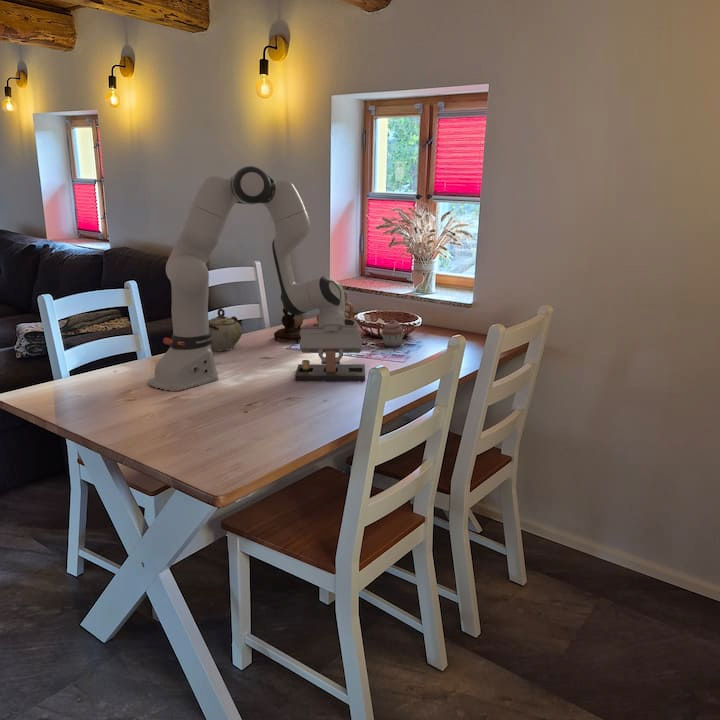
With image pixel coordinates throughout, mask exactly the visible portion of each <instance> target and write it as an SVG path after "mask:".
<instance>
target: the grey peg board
mask: <svg viewBox="0 0 720 720" xmlns="http://www.w3.org/2000/svg"><path fill="white" fill-rule="evenodd" d="M295 381H327V382H328V383H329V382H331V383H334V382H335V383H336V382H337V383H339V382H340V383H341V382H342V383H343V382H345V383H346V382H349V383H350V382H351V383H354V382H355V383H359V382H358V381H361V382H362V383H363V381H365V382H366V365H365V364H364V363H362V364H359V363H358V364H357V363H356V364H353V363H352V364H348V363H347V364H346V363H345V364H343V363H342V364H341V363H340V364H336V372H326V364H322V363H321V364H315V363H313V364H310V360H309V359H304V360H302V361H301V364H297V368H296V371H295V374H294V382H295ZM361 382H360V383H361Z"/></svg>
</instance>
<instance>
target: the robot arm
mask: <svg viewBox="0 0 720 720" xmlns="http://www.w3.org/2000/svg"><path fill="white" fill-rule="evenodd" d="M235 204H242V205H248V206H251V205H257V204H262V205H263V206H264V207H265V208H267V211H268V213H269V214H270V217H271V218H270V219H271V220H272V223H273V225H274V233H275V235H274V239H273V241H272V242H271V243H272V244H271V245H272V246H271V249H272V250H271V251H272V254H273V261H274V265H275V269H276V274H277V278H278V281H279V286H280V293H281V294H280V296H281V295H282V300H281V302H282V306H283V308H285V310H287V311H288V314H290V315H291V314H293V315H295V316H298V315H301V314H303V315H304V314H305V313H308V312H311V311H315V310H317V309H318V310H319V313H320V314H319V313H318V314H319V320H318V321H317V323H318V324H317V325H318V326H317V325H316V326H315V325H314V326H313V325H312V326H309V325H306V326H304V327H301V328H302V329H301V330H300V337H301V340H299V341H300V342H299V349H300V351H301V352H302V353H303V354H316V353H317V354H318V357H319V358H320V360H321V361H320V362H321V364H326V356H324V354H326V351H335V354H336V353H337V354H338V356H336V357H335V364H341V359H343V356H344V354H360V353H361V352H362V350H363V341H362V335H361V331H360V329H359V324H358V321H357V320H354V319H351V318H350V319H348V318H345V316H344V311H345V310H346V306H345V295H344V292H345V291H344V288H343V285H342V284H341V283H340V282H338V281H337V280H333V279H331V278H329V277H327V276H324V275H322V276H318V277H315V278H312V279H310V280H307V281H303V282H299V283H297V282H296V281H295V277H294V272H293V266H292V263H291V256H292V253H293V251H294V250H295V249H296V248H297V247H298V246H300V244H302V243H303V242H304V241H305V239H307V237H308V236H309V233H310V230H311V220H310V217H309V214H308V212H307V210H306V209H307V208H306V207H305V204H304V202H303V200H302V197H301V196H300V194H299V191H298V190H297V188H296V187H295V185H294V184H293V182H292V181H289V180H287V179H279V180H276V181H275V180H274V179H273V178H271V177H270V176H269V174H267V173H266V172H265V171H263V170H262V169H261V168H259V167H256V166H250V165H249V166H244V167H242V168H239V170H237V171H236V172H235V173H234V174H233V175H232V176H231V177H230V178H229V179H228V178H223V177H221V176H216V175H213V176H208V177H207V178H205V179H204V180H203V183H202V184H201V185H200V188H199V189H198V191H197V192H196V194H195V196H194V199H193V202H192V204H191V206H190V210H189V212H188V215H187V217H186V220H185V222H184V225H183V228H182V230H181V232H180V235H179V236H178V238H177V240H176V242H175V244H174V246H173V248H172V250H171V252H170V254H169V257H168V259H167V261H166V263H165V274H166V276H167V278H168V280H169V281H170V286H171V307H170V308H171V310H170V311H171V321H172V331H173V333H172V335H171V338H170V337H164V338H163V340H162V342H163V344H164V345H169V348H168V350H167V351H166V352H165V353H164V354H163V355H162V357H161V358H160V360H158V361H157V363H156V364H155V368H154V377H153V378H150V379H148V380H147V385H148V384H149V385H151V386H153V387H156V388H155V389H157V388H160V389H159V390H161V389H164V390H163V391H167V390H170V392H178V391H179V392H180V390H181V391H184V390H186V389H187V388H188V389H191V388H194V386H195V387H198V386H201V385H205V384H207V383H211V382H214V381H218V380H219V377H218V370H217V368H216V364H215V359H214V353H213V350H212V349H211V343H212V340H211V338H212V337H211V332H210V331H209V320H210V319H209V295H210V294H209V290H210V289H209V287H210V286H209V284H210V282H209V280H210V276H209V275H210V273H209V269H208V266H207V265H206V264H207V263H208V260H209V258H210V257H211V255H212V254H213V251H214V249H215V248H216V247H217V246H218V244H219V241H220V239H221V236H222V234H223V230H224V228H225V225H226V223H227V220H228V217H229V214H230V212H231V210H232V208H233V207H234V205H235ZM345 312H346V311H345ZM149 385H148V386H149ZM197 385H198V386H197ZM151 386H150V387H151ZM153 387H152V388H153ZM190 387H191V388H190ZM183 389H184V390H183ZM188 389H187V390H188Z"/></svg>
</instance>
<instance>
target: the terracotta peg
mask: <svg viewBox="0 0 720 720" xmlns="http://www.w3.org/2000/svg"><path fill="white" fill-rule="evenodd" d="M325 357H326V372H336V364H335V357H337V356H336V353H335V351H326V353H325Z"/></svg>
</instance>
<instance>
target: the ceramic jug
mask: <svg viewBox="0 0 720 720" xmlns="http://www.w3.org/2000/svg"><path fill="white" fill-rule="evenodd" d="M344 295H345V307H346V306H348V307H349V313H348V312H346V311H344V316H345V318H348V319H351V317H352V315H353V313H354V305H353V303H352V302H350V301H347V300H348V295H349V293H348V292H346V291H344ZM319 314H320V312H319V313H318V314H317V316H316V321H317V322H318V320H319Z"/></svg>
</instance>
